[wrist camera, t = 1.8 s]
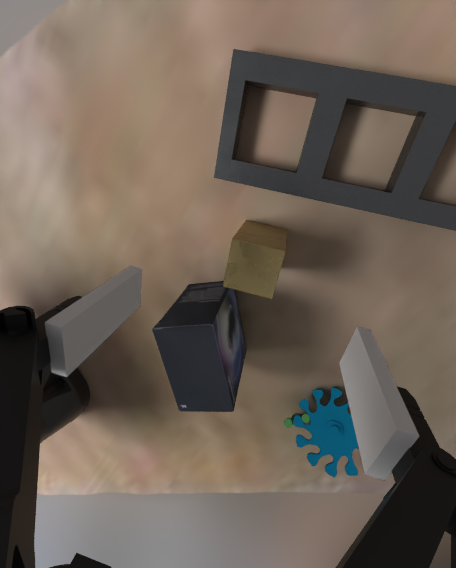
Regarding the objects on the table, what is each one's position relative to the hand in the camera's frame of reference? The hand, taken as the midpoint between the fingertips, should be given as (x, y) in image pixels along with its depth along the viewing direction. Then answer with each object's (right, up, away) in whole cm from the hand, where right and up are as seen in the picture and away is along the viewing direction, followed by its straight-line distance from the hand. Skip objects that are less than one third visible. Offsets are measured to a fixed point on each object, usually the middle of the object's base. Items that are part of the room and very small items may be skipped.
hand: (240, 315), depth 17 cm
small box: (-2, -3, +19) cm, 20 cm away
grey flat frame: (+12, +14, +8) cm, 20 cm away
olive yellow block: (+3, +6, +14) cm, 16 cm away
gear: (+13, -15, +22) cm, 29 cm away
